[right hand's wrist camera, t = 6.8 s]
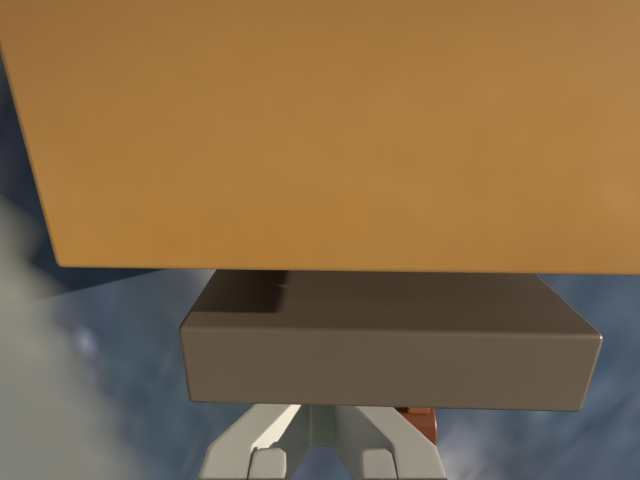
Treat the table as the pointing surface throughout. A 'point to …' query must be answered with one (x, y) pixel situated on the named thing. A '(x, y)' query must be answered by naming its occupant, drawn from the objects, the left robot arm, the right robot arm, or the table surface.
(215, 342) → the drawer
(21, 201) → the table surface
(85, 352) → the table surface
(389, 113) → the cabinet
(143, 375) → the table surface
